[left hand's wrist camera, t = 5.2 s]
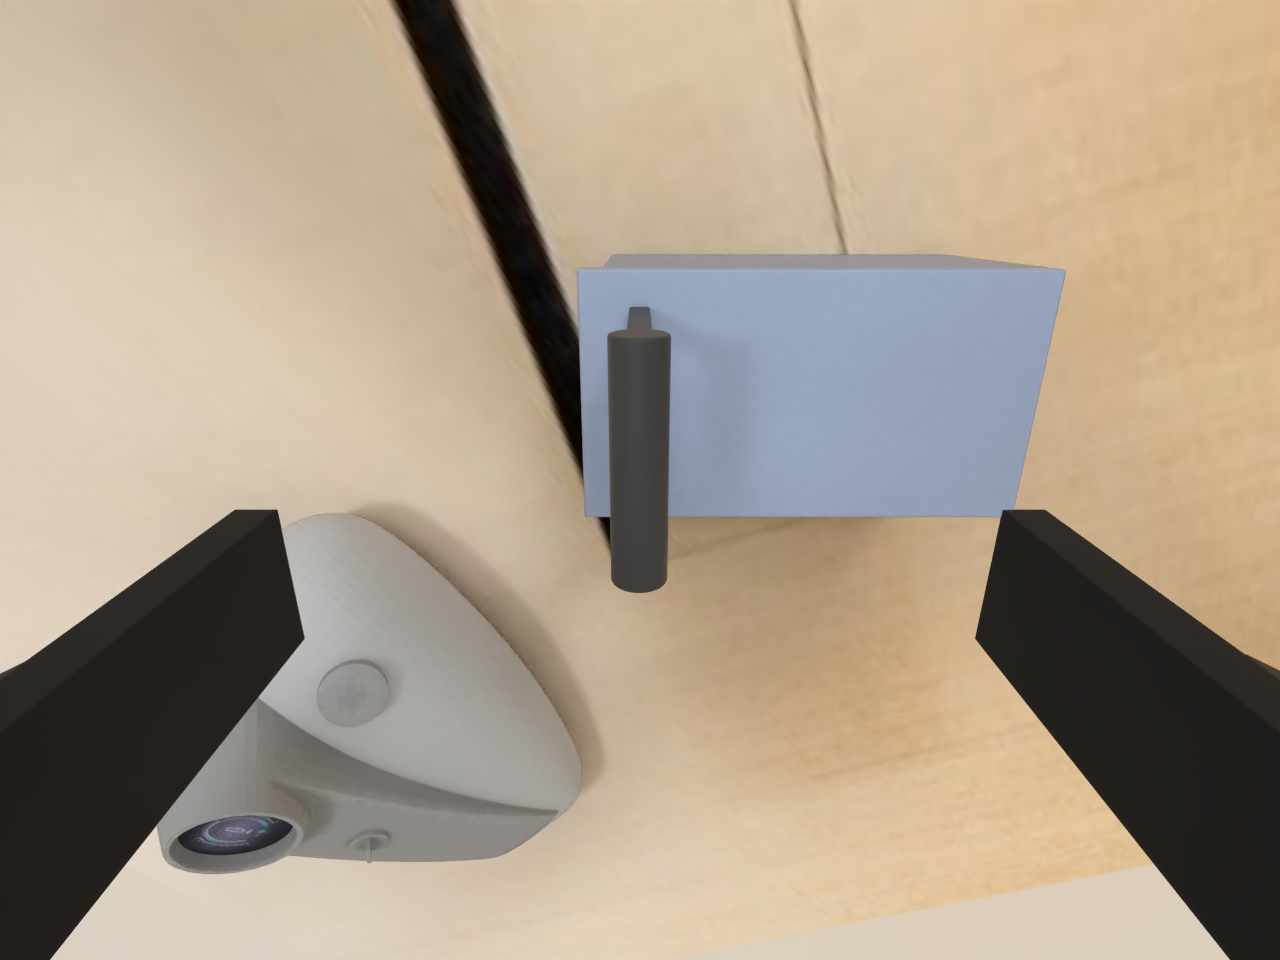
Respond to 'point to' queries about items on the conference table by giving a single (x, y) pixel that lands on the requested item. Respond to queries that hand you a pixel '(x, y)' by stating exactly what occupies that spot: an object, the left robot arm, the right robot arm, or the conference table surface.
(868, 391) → the lid
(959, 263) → the chest
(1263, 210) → the conference table surface
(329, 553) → the projector
